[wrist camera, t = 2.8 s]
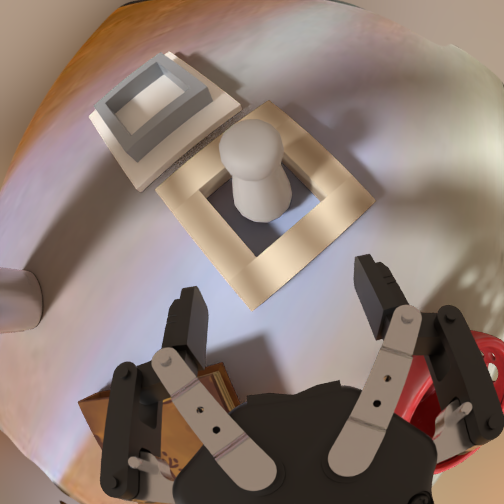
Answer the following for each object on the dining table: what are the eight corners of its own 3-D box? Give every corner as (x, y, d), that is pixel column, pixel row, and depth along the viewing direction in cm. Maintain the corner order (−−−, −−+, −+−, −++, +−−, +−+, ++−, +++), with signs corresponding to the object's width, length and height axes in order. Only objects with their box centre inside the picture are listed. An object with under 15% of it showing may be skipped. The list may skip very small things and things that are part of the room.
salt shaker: (261, 166, 30) (246, 92, 17) (302, 197, 29) (314, 134, 16) (225, 204, 30) (187, 148, 17) (266, 238, 29) (252, 199, 16)
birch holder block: (255, 308, 28) (251, 311, 25) (165, 198, 31) (154, 189, 28) (367, 209, 28) (376, 200, 25) (270, 114, 30) (268, 100, 28)
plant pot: (336, 372, 26) (367, 421, 14) (428, 297, 26) (496, 298, 14) (387, 443, 24) (423, 499, 12) (466, 375, 24) (525, 401, 12)
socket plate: (141, 192, 31) (123, 180, 27) (92, 120, 34) (78, 107, 30) (242, 109, 31) (236, 89, 27) (171, 56, 34) (162, 39, 30)
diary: (99, 390, 29) (73, 402, 24) (223, 360, 28) (210, 375, 22) (172, 513, 25) (159, 534, 20) (291, 501, 24) (290, 528, 19)
